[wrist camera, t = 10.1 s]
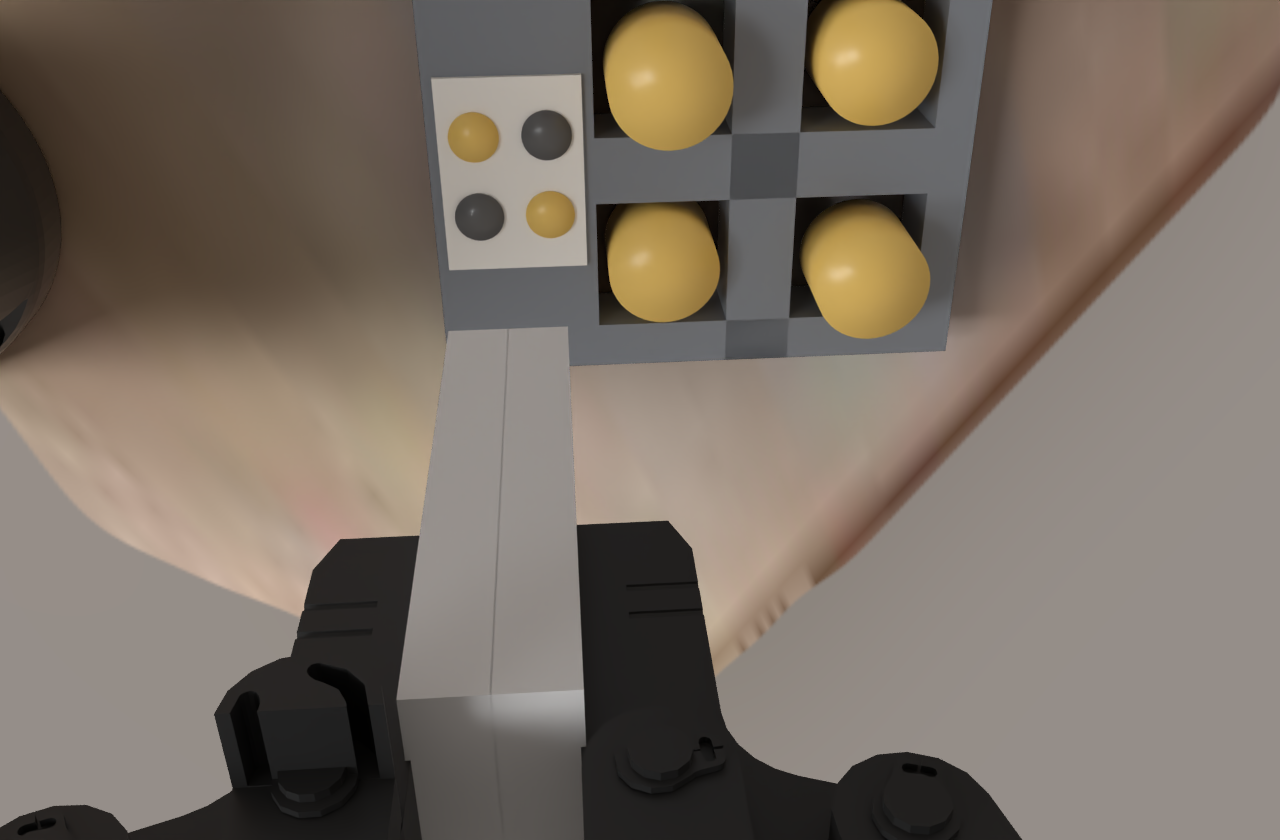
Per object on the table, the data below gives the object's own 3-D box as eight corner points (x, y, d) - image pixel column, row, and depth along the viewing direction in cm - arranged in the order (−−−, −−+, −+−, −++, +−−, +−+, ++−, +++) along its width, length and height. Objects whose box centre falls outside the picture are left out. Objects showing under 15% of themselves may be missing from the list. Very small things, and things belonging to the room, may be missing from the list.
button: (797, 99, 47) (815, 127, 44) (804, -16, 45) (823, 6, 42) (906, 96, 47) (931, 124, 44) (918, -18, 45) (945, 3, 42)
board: (453, 336, 51) (448, 374, 48) (414, -72, 43) (405, -55, 40) (925, 318, 52) (947, 354, 49) (974, -83, 44) (1005, -67, 41)
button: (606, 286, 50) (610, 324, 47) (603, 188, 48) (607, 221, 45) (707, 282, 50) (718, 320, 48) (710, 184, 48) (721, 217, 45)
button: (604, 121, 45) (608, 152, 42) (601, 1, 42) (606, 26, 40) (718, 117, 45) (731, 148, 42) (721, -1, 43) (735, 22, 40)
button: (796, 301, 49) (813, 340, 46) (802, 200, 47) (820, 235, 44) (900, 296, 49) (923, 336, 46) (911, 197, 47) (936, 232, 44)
